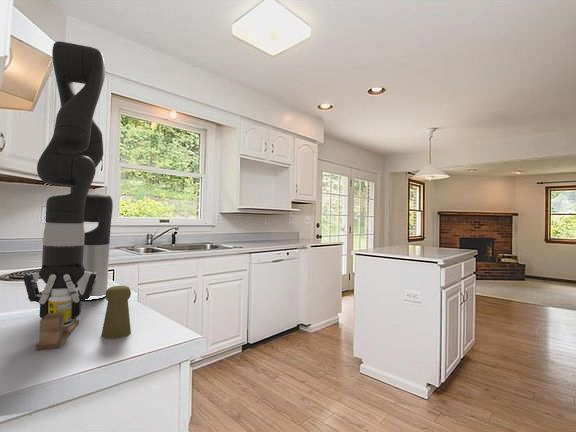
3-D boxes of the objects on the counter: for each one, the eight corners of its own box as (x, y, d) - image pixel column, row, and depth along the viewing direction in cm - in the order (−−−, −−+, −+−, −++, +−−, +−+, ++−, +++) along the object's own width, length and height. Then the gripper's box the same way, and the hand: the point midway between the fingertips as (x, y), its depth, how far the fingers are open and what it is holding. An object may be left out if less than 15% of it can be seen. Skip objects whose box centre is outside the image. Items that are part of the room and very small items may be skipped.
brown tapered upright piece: (118, 340, 70) (120, 290, 70) (94, 336, 71) (97, 288, 71) (136, 330, 76) (138, 285, 76) (114, 327, 77) (116, 282, 77)
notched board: (59, 324, 77) (60, 300, 77) (78, 323, 78) (80, 299, 78) (35, 350, 63) (37, 320, 63) (59, 348, 64) (60, 319, 64)
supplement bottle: (45, 324, 71) (47, 286, 71) (70, 319, 74) (72, 284, 74) (48, 330, 67) (50, 291, 67) (75, 325, 71) (76, 288, 71)
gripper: (103, 241, 77) (100, 311, 77) (31, 240, 72) (28, 315, 72) (97, 245, 70) (93, 322, 70) (17, 244, 65) (13, 327, 65)
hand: (60, 318), depth 71 cm, fingers closed on supplement bottle, 4 cm apart
